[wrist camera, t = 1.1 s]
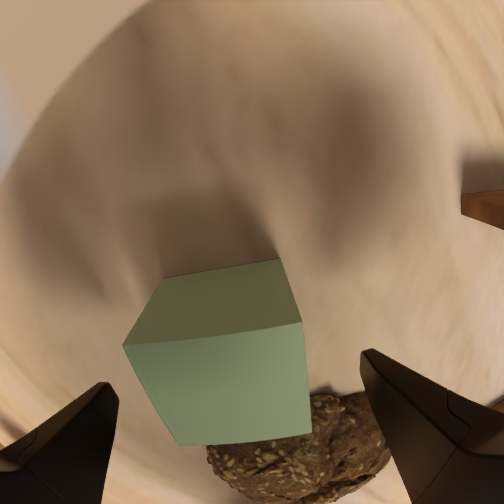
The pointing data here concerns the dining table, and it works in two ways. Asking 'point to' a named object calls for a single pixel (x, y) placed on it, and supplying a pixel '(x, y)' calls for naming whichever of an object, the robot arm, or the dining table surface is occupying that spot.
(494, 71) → the dining table surface
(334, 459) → the bread roll
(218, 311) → the block
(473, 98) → the dining table surface
